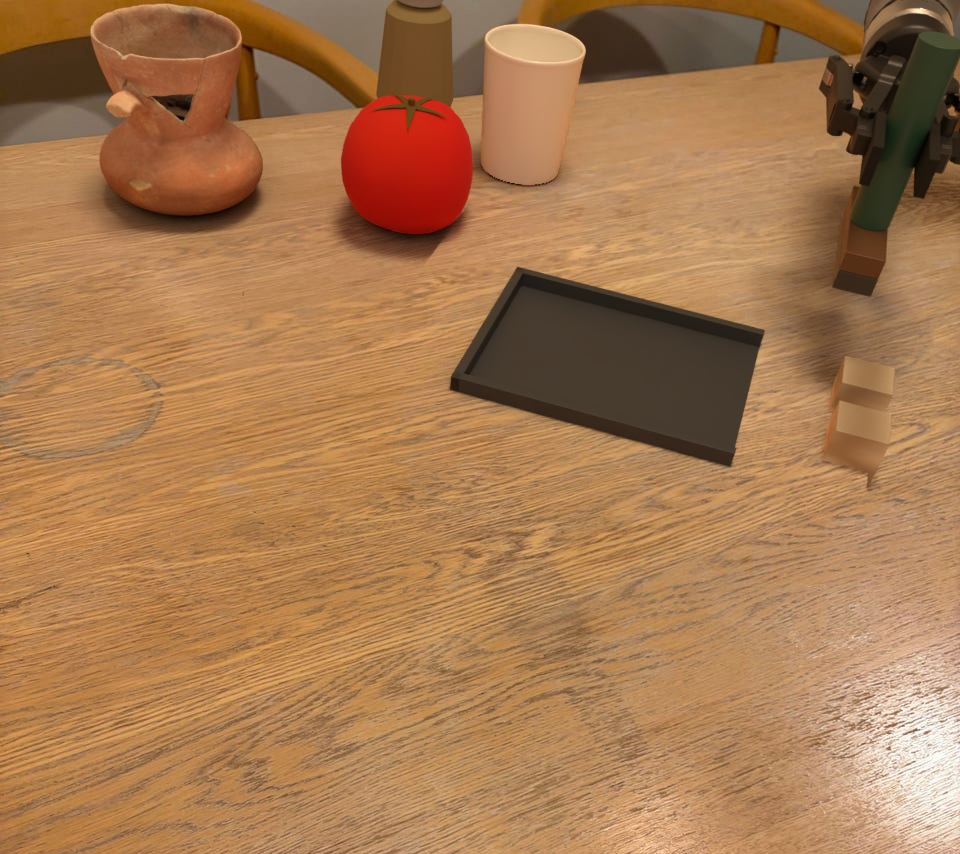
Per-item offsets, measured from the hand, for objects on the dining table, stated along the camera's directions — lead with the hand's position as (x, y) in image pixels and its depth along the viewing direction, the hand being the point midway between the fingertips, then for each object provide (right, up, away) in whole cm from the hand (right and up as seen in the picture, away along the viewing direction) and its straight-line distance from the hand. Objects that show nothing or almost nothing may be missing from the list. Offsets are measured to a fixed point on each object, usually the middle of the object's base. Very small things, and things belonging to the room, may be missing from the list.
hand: (898, 172), depth 72 cm
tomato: (-37, +7, +25) cm, 45 cm away
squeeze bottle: (-37, +22, +38) cm, 57 cm away
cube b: (-1, -19, +7) cm, 21 cm away
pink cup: (-25, +16, +35) cm, 46 cm away
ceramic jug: (-57, +9, +25) cm, 63 cm away
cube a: (+1, -15, +11) cm, 19 cm away
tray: (-19, -11, +12) cm, 25 cm away
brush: (+1, -2, +10) cm, 11 cm away
